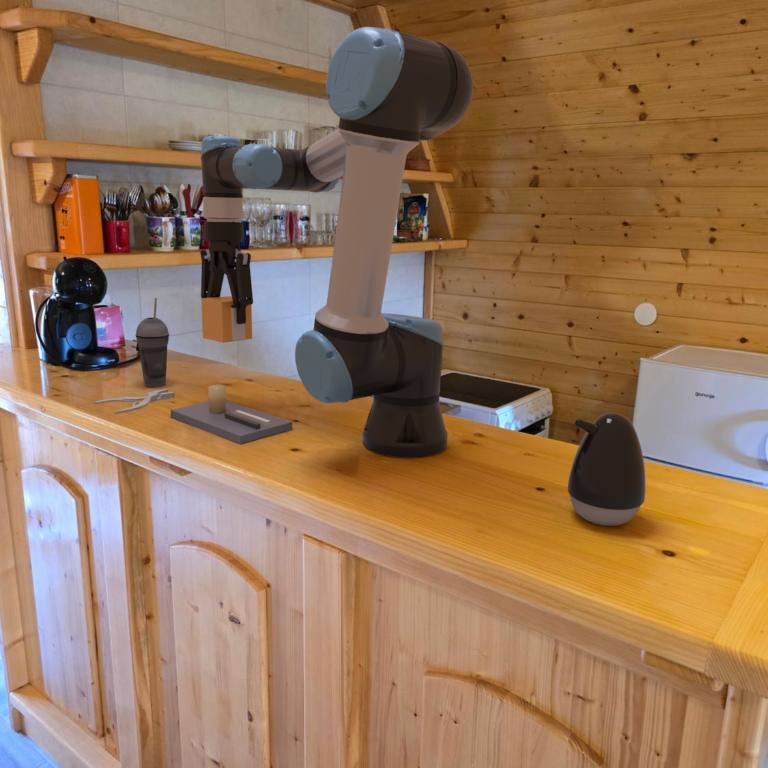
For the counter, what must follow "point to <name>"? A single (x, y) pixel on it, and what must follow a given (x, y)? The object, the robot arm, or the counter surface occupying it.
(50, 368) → the counter surface
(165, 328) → the beverage cup
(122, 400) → the pliers
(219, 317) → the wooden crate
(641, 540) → the counter surface
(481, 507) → the counter surface
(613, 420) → the pump dispenser
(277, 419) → the plate
